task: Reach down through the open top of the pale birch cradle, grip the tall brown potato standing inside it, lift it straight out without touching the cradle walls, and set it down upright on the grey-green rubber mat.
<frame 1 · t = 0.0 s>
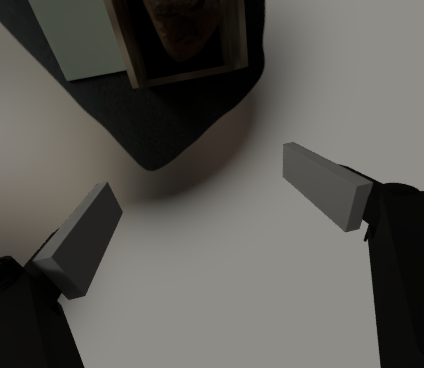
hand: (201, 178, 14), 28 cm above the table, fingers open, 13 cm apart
brown potato: (176, 24, 31), resting in cradle
mat: (83, 32, 30), on the table
cradle: (176, 24, 31), on the table
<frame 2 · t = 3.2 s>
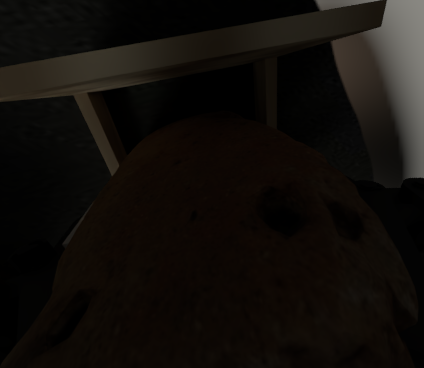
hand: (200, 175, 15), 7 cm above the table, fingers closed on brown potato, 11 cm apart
brown potato: (194, 147, 21), resting in cradle, touching gripper
cradle: (194, 148, 21), on the table
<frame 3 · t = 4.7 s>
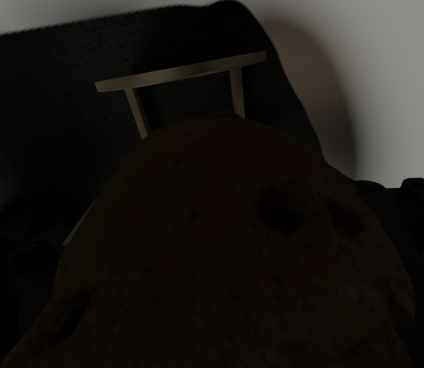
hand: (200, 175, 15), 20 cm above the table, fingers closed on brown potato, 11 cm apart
brown potato: (194, 147, 21), point 12 cm above the table, touching gripper
cradle: (193, 125, 32), on the table
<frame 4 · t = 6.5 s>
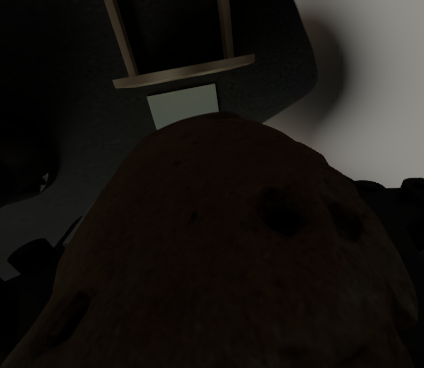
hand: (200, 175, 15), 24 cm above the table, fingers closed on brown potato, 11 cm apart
brown potato: (194, 147, 21), point 17 cm above the table, touching gripper
mat: (188, 122, 35), on the table
cradle: (172, 19, 28), on the table
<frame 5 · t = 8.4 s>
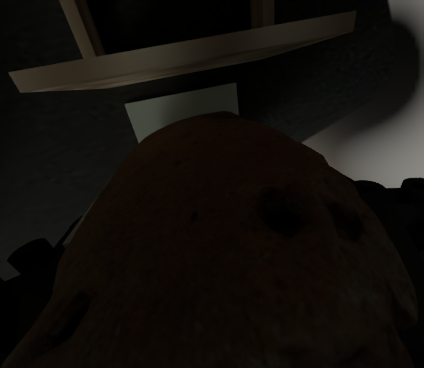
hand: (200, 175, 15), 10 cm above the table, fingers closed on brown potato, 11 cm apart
brown potato: (194, 147, 21), point 2 cm above the table, touching gripper
mat: (192, 142, 23), on the table
when the fingers open (8 cm above the table, at t = 9.7 s): brown potato stays where it is, resting on mat.
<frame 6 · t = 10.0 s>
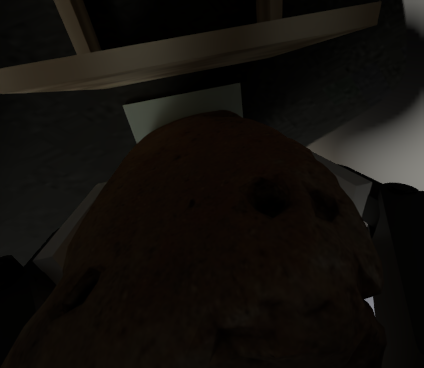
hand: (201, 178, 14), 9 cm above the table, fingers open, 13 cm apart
brown potato: (194, 145, 22), resting on mat
mat: (193, 145, 22), on the table
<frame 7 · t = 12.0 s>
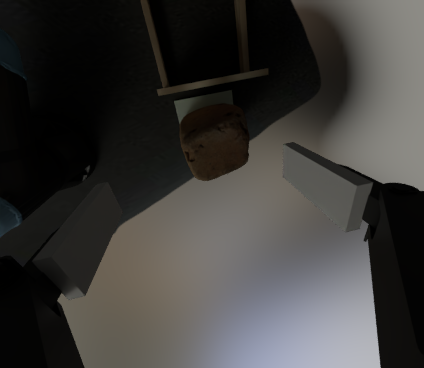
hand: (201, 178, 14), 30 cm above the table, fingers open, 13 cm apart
brown potato: (207, 122, 41), resting on mat
mat: (207, 122, 41), on the table
cradle: (198, 37, 34), on the table
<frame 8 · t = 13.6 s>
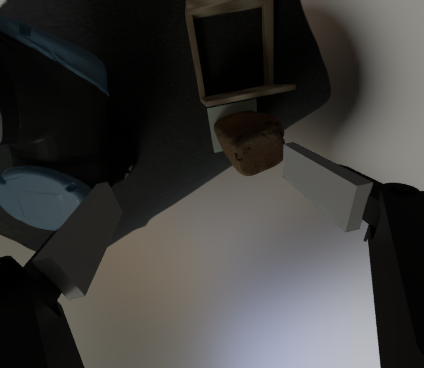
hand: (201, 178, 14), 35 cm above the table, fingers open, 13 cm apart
brown potato: (234, 126, 47), resting on mat
mat: (233, 126, 47), on the table
cradle: (230, 55, 40), on the table
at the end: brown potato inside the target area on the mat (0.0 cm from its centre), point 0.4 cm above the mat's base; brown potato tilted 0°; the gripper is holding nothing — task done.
